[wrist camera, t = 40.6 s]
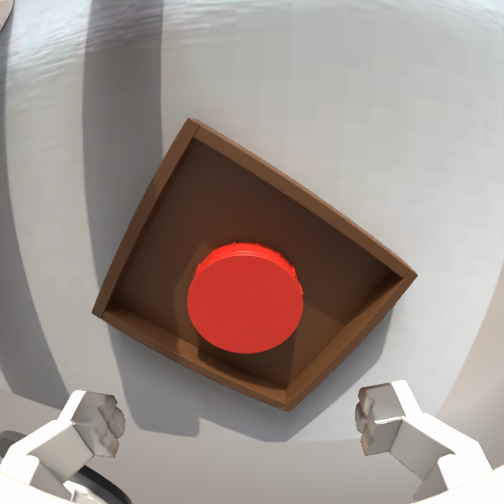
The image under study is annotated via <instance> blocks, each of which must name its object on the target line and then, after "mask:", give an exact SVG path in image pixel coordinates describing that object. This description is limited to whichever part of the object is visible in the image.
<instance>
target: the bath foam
mask: <svg viewBox="0 0 504 504" xmlns="http://www.w3.org/2000/svg"><path fill="white" fill-rule="evenodd" d="M13 2H14V0H0V31H1V29H2V27H3V25H4V24H5V22H6V20H7V18H8V16H9V14H10V11H11V9H12V6H13Z"/></svg>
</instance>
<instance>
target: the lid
mask: <svg viewBox="0 0 504 504" xmlns="http://www.w3.org/2000/svg"><path fill="white" fill-rule="evenodd" d="M302 295H303V291H302V288H301V284H300V283H299V281H298V278H297V275H296V272H295V269H294V265H291V263H290V262H289V261H288V260H287V259H286V258H285V257H284V256H283V255H282V254H281V253H279V250H277V251H276V250H275V249H273V248H271V247H269V246H266V245H263V244H260V243H258V242H256V243H255V242H236V241H234V242H233V243H231V244H228V245H224V246H222V247H220V248H218V249H216V250H215V249H214V250H213V252H212V253H210V254H209V255H208V256H207V257H206V258H205V259H204V260H203V261H202V263H201V264H200V263H199V265H198V267H197V269H196V272H195V276H194V279H193V281H192V283H191V285H190V288H189V290H188V299H187V307H188V313H189V316H190V319H191V321H192V323H193V325H194V327H195V328H196V330H197V331H198V332H199V333H200V335H201V336H202V337H204V338H205V339H206V340H207V341H208V342H210V343H211V344H213V345H215V346H217V347H219V348H221V349H223V350H226V351H230V352H235V353H244V354H247V353H258V352H262V351H266V350H269V349H272V348H274V347H276V346H278V345H279V344H281V343H282V342H284V341H285V340H286V339H287V338H289V336H290V335H291V334H292V333H293V332H294V331H295V329H296V328H297V326H298V324H299V322H300V319H301V316H302V312H303V297H302Z"/></svg>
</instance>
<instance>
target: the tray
mask: <svg viewBox="0 0 504 504" xmlns="http://www.w3.org/2000/svg"><path fill="white" fill-rule="evenodd" d="M234 241H236V242H255V243H256V242H258V243H260V244H263V245H266V246H269V247H271V248H273V249H275V250H276V251H277V250H279V253H281V254H282V255H283V256H284V257H285V258H286V259H287V260H288V261H289V262H290V263H291V265H294V269H295V272H296V275H297V278H298V281H299V283H300V284H301V288H302V291H303V295H302V297H303V312H302V316H301V319H300V322H299V324H298V326H297V328H296V329H295V331H294V332H293V333H292V334H291V335H290V336H289V338H287V339H286V340H285V341H284V342H282V343H281V344H279V345H278V346H276V347H274V348H272V349H269V350H266V351H262V352H258V353H247V354H244V353H235V352H230V351H226V350H223V349H221V348H219V347H217V346H215V345H213V344H211V343H210V342H208V341H207V340H206V339H205V338H204V337H202V336H201V335H200V333H199V332H198V331H197V330H196V328H195V327H194V325H193V323H192V321H191V319H190V316H189V313H188V307H187V299H188V290H189V288H190V285H191V283H192V281H193V279H194V276H195V272H196V269H197V267H198V265H199V263H200V264H201V263H202V261H203V260H204V259H205V258H206V257H207V256H208V255H209V254H210V253H212V252H213V250H214V249H215V250H216V249H218V248H220V247H222V246H224V245H228V244H231V243H233V242H234ZM417 276H418V275H417V273H416V272H415V271H414V270H413V269H412V268H411V267H410V266H409V265H408V264H407V263H406V262H405V261H403V260H402V259H401V258H400V257H398V256H397V255H396V254H395V253H393V252H392V251H391V250H389V249H388V248H387V247H386V246H384V245H383V244H382V243H380V242H379V241H378V240H377V239H375V238H374V237H373V236H371V235H370V234H369V233H367V232H366V231H365V230H363V229H362V228H361V227H359V226H358V225H357V224H355V223H354V222H353V221H351V220H350V219H348V218H347V217H346V216H344V215H343V214H342V213H340V212H339V211H337V210H336V209H335V208H333V207H332V206H331V205H329V204H328V203H326V202H325V201H323V200H322V199H321V198H319V197H318V196H316V195H315V194H313V193H312V192H311V191H309V190H308V189H306V188H305V187H303V186H302V185H300V184H299V183H297V182H296V181H294V180H293V179H291V178H290V177H288V176H287V175H285V174H284V173H282V172H281V171H279V170H278V169H276V168H275V167H273V166H272V165H270V164H269V163H267V162H266V161H264V160H262V159H261V158H259V157H258V156H256V155H255V154H253V153H251V152H250V151H248V150H247V149H245V148H243V147H242V146H240V145H239V144H237V143H235V142H234V141H232V140H230V139H229V138H227V137H225V136H224V135H222V134H220V133H219V132H217V131H215V130H214V129H212V128H210V127H209V126H207V125H205V124H203V123H202V122H200V121H198V120H196V119H192V118H188V119H187V120H186V122H185V123H184V125H183V127H182V128H181V130H180V132H179V133H178V135H177V137H176V138H175V140H174V142H173V144H172V145H171V147H170V149H169V150H168V152H167V154H166V156H165V157H164V159H163V161H162V163H161V165H160V166H159V168H158V170H157V172H156V174H155V176H154V177H153V179H152V181H151V183H150V185H149V187H148V189H147V191H146V193H145V194H144V196H143V198H142V200H141V202H140V204H139V206H138V208H137V210H136V212H135V214H134V216H133V218H132V220H131V222H130V224H129V227H128V229H127V231H126V233H125V235H124V237H123V239H122V241H121V244H120V246H119V248H118V250H117V252H116V255H115V257H114V259H113V261H112V264H111V266H110V268H109V271H108V273H107V275H106V278H105V280H104V283H103V285H102V288H101V290H100V292H99V295H98V297H97V300H96V303H95V305H94V308H93V310H92V314H94V315H95V316H97V317H98V318H100V319H101V318H102V320H103V321H105V322H107V323H108V324H110V325H112V326H113V327H115V328H116V329H118V330H120V331H121V332H123V333H125V334H127V335H128V336H130V337H132V338H133V339H135V340H137V341H139V342H140V343H142V344H144V345H146V346H147V347H149V348H151V349H153V350H155V351H157V352H158V353H160V354H162V355H164V356H166V357H168V358H170V359H172V360H173V361H175V362H177V363H179V364H181V365H183V366H185V367H187V368H189V369H191V370H193V371H195V372H197V373H199V374H201V375H203V376H205V377H207V378H210V379H212V380H214V381H216V382H218V383H220V384H222V385H225V386H227V387H229V388H231V389H234V390H236V391H238V392H240V393H243V394H245V395H247V396H250V397H252V398H254V399H257V400H259V401H262V402H264V403H267V404H269V405H272V406H274V407H277V408H279V409H282V410H284V411H287V412H289V411H290V410H292V409H293V408H294V407H295V406H296V405H297V404H298V403H299V402H301V401H302V400H303V399H304V398H305V397H306V396H307V395H308V394H309V393H310V392H311V391H313V390H314V389H315V388H316V387H317V386H318V385H319V384H320V383H321V382H322V381H323V380H324V379H325V378H326V377H327V376H328V375H329V374H330V373H331V372H332V371H333V370H334V369H335V368H336V367H337V366H338V365H339V364H340V363H341V362H342V361H343V360H344V359H345V358H346V357H347V356H348V355H349V354H350V353H351V352H352V351H353V350H354V349H355V348H356V347H357V346H358V345H359V344H360V343H361V341H362V340H363V339H364V338H365V337H366V336H367V335H368V334H369V333H370V332H371V331H372V329H373V328H374V327H375V326H376V325H377V324H378V323H379V322H380V321H381V319H382V318H383V317H384V316H385V315H386V314H387V312H388V311H389V310H390V309H391V308H392V307H393V305H394V304H395V303H396V302H397V301H398V300H399V298H400V297H401V296H402V295H403V293H404V292H405V291H406V290H407V289H408V287H409V286H410V285H411V284H412V282H413V281H414V280H415V279H416V277H417Z"/></svg>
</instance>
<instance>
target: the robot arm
mask: <svg viewBox="0 0 504 504" xmlns="http://www.w3.org/2000/svg"><path fill="white" fill-rule="evenodd" d="M358 397H359V400H360V402H359V403H358V404H357V405H356V409H355V421H356V426H357V430H358V431H359V432H360V433H362V438H361V444H362V447H363V451H364V454H365V456H368V455H374V454H378V453H384V452H389V451H390V454H391V455H393V456H394V457H395V458H396V459H397V460H399V461H400V462H401V463H402V464H403V465H404V466H405V467H407V468H408V469H409V470H410V471H411V472H413V473H414V474H415V475H416V476H417V477H418V478H420V479H421V480H422V481H423V483H422V484H421V486H420V487H419V488H418V490H417V491H416V492H415V494H414V495H413V497H414V501H415V502H414V503H411V504H504V465H502V466H500V467H498V468H496V469H494V470H492V469H491V467H490V465H489V463H488V461H487V459H486V457H485V455H484V453H483V451H482V449H481V448H480V446H479V444H478V442H476V441H474V440H473V439H471V438H469V437H467V436H466V435H464V434H462V433H460V432H458V431H457V430H454V429H453V428H451V427H450V426H448V425H446V424H444V423H443V422H441V421H439V420H438V419H436V418H434V417H432V416H431V415H429V414H427V413H424V414H422V412H421V410H420V408H419V406H418V404H417V402H416V400H415V398H414V396H413V394H412V392H411V390H410V388H409V386H408V385H407V383H406V381H405V380H400V381H395V382H390V383H384V384H379V385H374V386H369V387H363V388H361V389H360V390H359V394H358ZM116 404H117V401H116V399H115V397H114V396H113V395H107V394H100V393H94V392H87V391H80V390H76V391H74V392H73V393H72V395H71V397H70V398H69V400H68V402H67V403H66V405H65V407H64V409H63V411H62V413H61V414H60V416H59V418H58V420H53V421H51V422H50V423H48V424H46V425H45V426H43V427H42V428H40V429H38V430H37V431H35V432H33V433H32V434H30V435H28V436H27V437H25V438H23V439H22V440H20V441H18V442H17V443H15V444H13V445H12V446H10V448H9V450H8V452H7V453H6V455H5V457H4V459H3V461H2V462H1V464H0V504H108V503H106V502H105V501H104V500H102V499H101V498H100V497H99V496H97V495H96V494H95V493H93V492H92V491H91V490H90V489H88V488H86V487H84V486H82V485H79V484H76V483H74V482H71V481H69V480H68V479H69V478H70V477H72V476H73V475H74V474H75V473H76V472H77V471H78V470H79V469H80V468H82V467H83V466H84V465H85V464H86V463H87V462H88V461H89V460H90V459H92V458H93V457H94V455H97V456H103V457H109V458H115V455H116V452H117V449H118V447H119V442H118V440H117V439H118V438H119V437H121V436H122V435H123V433H124V429H125V418H124V414H123V412H122V411H121V410H120V409H119V408H118V407H116Z"/></svg>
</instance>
